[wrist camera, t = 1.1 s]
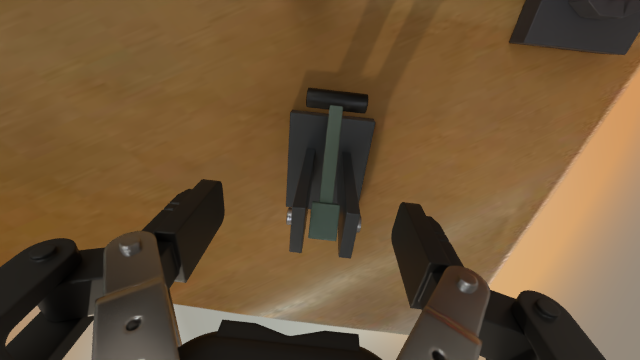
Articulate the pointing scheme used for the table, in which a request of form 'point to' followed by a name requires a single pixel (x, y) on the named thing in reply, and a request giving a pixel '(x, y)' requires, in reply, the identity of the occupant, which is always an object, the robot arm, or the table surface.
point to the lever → (331, 156)
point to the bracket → (308, 168)
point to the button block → (579, 25)
